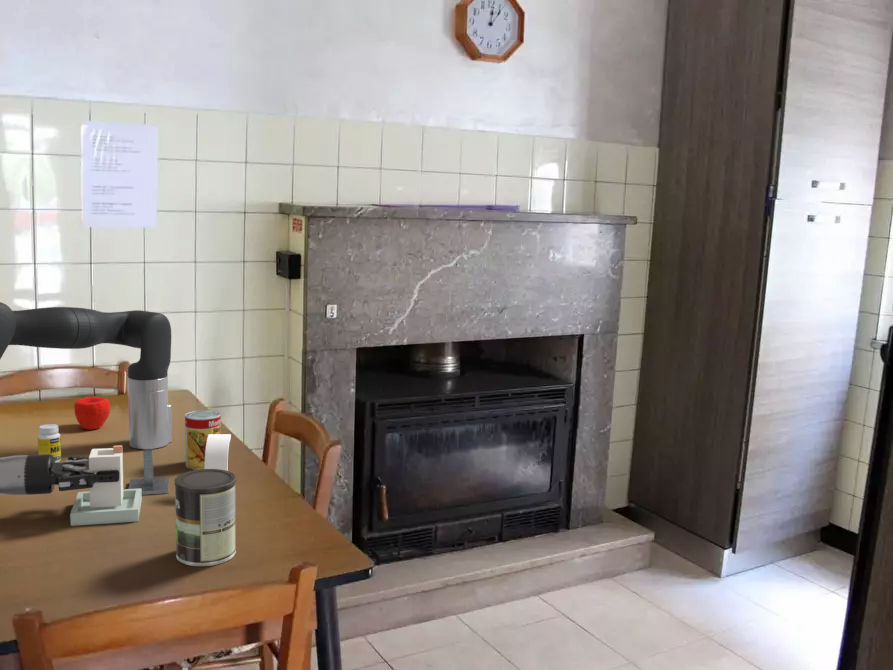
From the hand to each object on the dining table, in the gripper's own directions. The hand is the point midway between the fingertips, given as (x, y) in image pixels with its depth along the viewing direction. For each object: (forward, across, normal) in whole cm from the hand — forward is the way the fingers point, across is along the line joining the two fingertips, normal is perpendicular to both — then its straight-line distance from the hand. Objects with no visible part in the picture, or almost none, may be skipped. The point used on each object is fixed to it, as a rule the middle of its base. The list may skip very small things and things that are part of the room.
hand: (120, 470), depth 169 cm
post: (+5, +13, +8) cm, 16 cm away
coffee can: (+16, -24, +8) cm, 30 cm away
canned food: (+16, +27, +8) cm, 32 cm away
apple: (-12, +63, +9) cm, 65 cm away
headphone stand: (+19, +7, +8) cm, 22 cm away
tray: (-2, 0, +8) cm, 9 cm away
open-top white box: (-3, 0, +6) cm, 7 cm away
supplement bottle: (-18, +35, +9) cm, 41 cm away
